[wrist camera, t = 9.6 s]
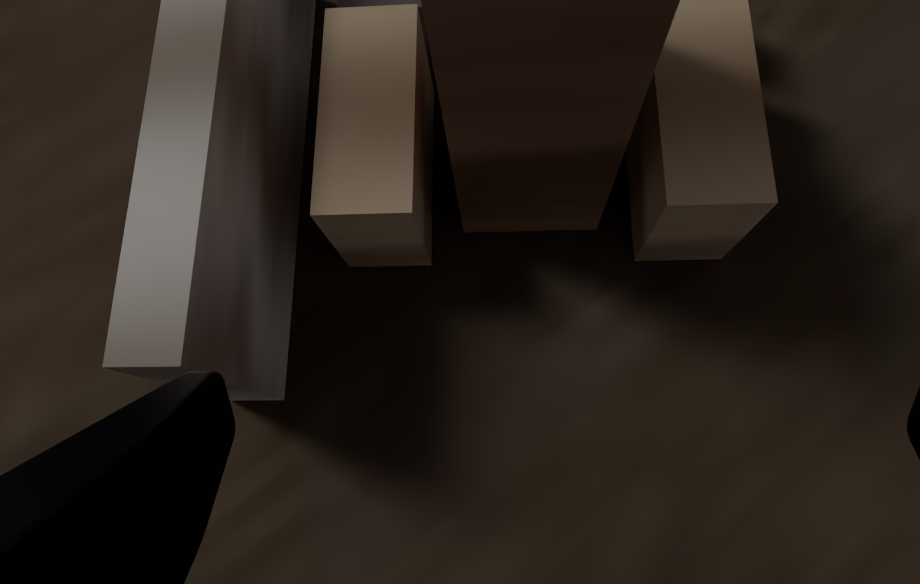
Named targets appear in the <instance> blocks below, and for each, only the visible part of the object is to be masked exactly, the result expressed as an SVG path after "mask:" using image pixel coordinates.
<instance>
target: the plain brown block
mask: <svg viewBox="0 0 920 584" xmlns="http://www.w3.org/2000/svg"><path fill="white" fill-rule="evenodd" d="M679 2H680V0H421V3H422V9H423V14H424V20H425V25H426V30H427V36H428V41H429V47H430V52H431V58H432V63H433V68H434V74H435V79H436V85H437V90H438V96H439V101H440V106H441V112H442V117H443V123H444V128H445V134H446V139H447V144H448V150H449V155H450V161H451V166H452V172H453V177H454V183H455V188H456V193H457V199H458V204H459V210H460V215H461V221H462V226H463V231H464V233H479V232H518V231H557V230H596V229H597V227H598V224H599V222H600V219H601V216H602V213H603V211H604V208H605V205H606V202H607V200H608V197H609V194H610V191H611V189H612V186H613V183H614V181H615V178H616V175H617V172H618V170H619V167H620V164H621V161H622V159H623V156H624V153H625V150H626V148H627V145H628V142H629V139H630V137H631V134H632V131H633V128H634V126H635V123H636V120H637V117H638V115H639V112H640V109H641V106H642V104H643V101H644V98H645V95H646V93H647V90H648V87H649V85H650V82H651V79H652V76H653V74H654V71H655V68H656V65H657V63H658V60H659V57H660V54H661V52H662V49H663V46H664V43H665V41H666V38H667V35H668V32H669V30H670V27H671V24H672V21H673V19H674V16H675V13H676V10H677V8H678V5H679Z"/></svg>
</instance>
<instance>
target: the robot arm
mask: <svg viewBox="0 0 920 584" xmlns="http://www.w3.org/2000/svg"><path fill="white" fill-rule="evenodd" d="M907 432H908V436H909V439H910V441H911V443H912V445H913V447H914V450H915V452H916V454H917V456H918V458H919V460H920V387H919V390H918V392H917V395H916V398H915V400H914V403H913V406H912V409H911V411H910V414H909V417H908V421H907ZM234 435H235V419H234V415H233V411H232V407H231V404H230V400H229V396H228V392H227V388H226V385H225V381H224V379H223V377H222V375H221V374H220V373H218V372H217V371H189V372H186V373H184V374H182V375H180V376H178V377H177V378H175V379H173V380H171V381H170V382H168V383H166V384H164V385H162V386H161V387H159V388H157V389H155V390H153V391H152V392H150V393H148V394H146V395H144V396H143V397H141V398H139V399H137V400H135V401H134V402H132V403H130V404H128V405H126V406H125V407H123V408H121V409H119V410H117V411H116V412H114V413H112V414H110V415H109V416H107V417H105V418H103V419H101V420H100V421H98V422H96V423H94V424H92V425H91V426H89V427H87V428H85V429H83V430H82V431H80V432H78V433H76V434H74V435H73V436H71V437H69V438H67V439H65V440H64V441H62V442H60V443H58V444H57V445H55V446H53V447H51V448H49V449H48V450H46V451H44V452H42V453H40V454H39V455H37V456H35V457H33V458H31V459H30V460H28V461H26V462H24V463H22V464H21V465H19V466H17V467H15V468H13V469H12V470H10V471H8V472H6V473H5V474H3V475H1V476H0V584H184V582H185V580H186V577H187V575H188V573H189V570H190V568H191V566H192V564H193V561H194V559H195V556H196V554H197V551H198V549H199V547H200V544H201V542H202V539H203V536H204V533H205V530H206V527H207V524H208V521H209V518H210V514H211V511H212V508H213V505H214V501H215V498H216V495H217V492H218V488H219V485H220V482H221V479H222V475H223V472H224V469H225V466H226V462H227V459H228V456H229V452H230V449H231V446H232V443H233V439H234Z"/></svg>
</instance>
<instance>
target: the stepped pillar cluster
mask: <svg viewBox="0 0 920 584" xmlns="http://www.w3.org/2000/svg"><path fill="white" fill-rule="evenodd" d="M315 6H316V0H161V5H160V12H159V18H158V24H157V30H156V37H155V43H154V49H153V55H152V61H151V68H150V74H149V80H148V86H147V93H146V99H145V105H144V111H143V118H142V124H141V130H140V136H139V143H138V149H137V155H136V161H135V167H134V174H133V180H132V186H131V192H130V199H129V205H128V211H127V217H126V224H125V230H124V236H123V242H122V249H121V255H120V261H119V267H118V273H117V280H116V286H115V292H114V298H113V305H112V311H111V317H110V323H109V330H108V336H107V342H106V348H105V355H104V361H103V368H107V369H111V370H115V371H119V372H123V373H127V374H130V375H134V376H138V377H142V378H146V379H150V380H153V381H157V382H161V383H165V384H166V383H168V382H170V381H171V380H173V379H175V378H177V377H178V376H180V375H182V374H184V373H186V372H189V371H217V372H218V373H220V374H221V375H222V377H223V379H224V381H225V385H226V388H227V392H228V396H229V400H230V401H233V400H284V399H285V386H286V374H287V361H288V348H289V336H290V323H291V310H292V298H293V285H294V272H295V260H296V247H297V234H298V221H299V209H300V196H301V183H302V171H303V158H304V145H305V133H306V120H307V107H308V94H309V82H310V69H311V56H312V44H313V31H314V18H315ZM431 72H434V68H433V63H432V58H431V52H430V47H429V41H428V36H427V30H426V25H425V20H424V14H423V9H422V3H421V0H337V8H325V16H324V30H323V44H322V57H321V71H320V84H319V98H318V112H317V125H316V139H315V152H314V166H313V179H312V193H311V207H310V216H311V217H312V219H313V220H314V221H315V223H316V224H317V225H318V227H319V228H320V229H321V230H322V232H323V233H324V234H325V236H326V237H327V238H328V240H329V241H330V242H331V243H332V245H333V246H334V247H335V249H336V250H337V251H338V253H339V254H340V255H341V256H342V258H343V259H344V260H345V262H346V263H347V264H348V266H349V267H375V266H422V265H431V261H432V197H433V133H434V88H433V83H432V77H431ZM626 163H627V176H628V188H629V201H630V214H631V227H632V239H633V252H634V261H660V260H708V259H722V258H723V257H724V256H725V255H726V254H727V253H728V252H729V251H730V250H731V249H732V248H733V247H734V246H735V245H736V244H737V243H738V242H739V241H740V240H741V239H742V238H743V237H744V236H745V235H746V234H747V233H748V232H749V231H750V230H751V229H752V228H753V227H754V226H755V225H756V224H757V223H758V222H759V221H760V220H761V219H762V218H763V217H764V216H765V215H766V214H767V213H768V212H769V211H770V210H771V209H772V208H773V207H774V206H775V205H776V204H777V203H778V199H777V192H776V185H775V178H774V172H773V165H772V158H771V152H770V145H769V138H768V132H767V125H766V118H765V111H764V105H763V98H762V91H761V85H760V78H759V71H758V65H757V58H756V51H755V44H754V38H753V31H752V24H751V18H750V11H749V4H748V0H680V2H679V5H678V8H677V10H676V13H675V16H674V19H673V21H672V24H671V27H670V30H669V32H668V35H667V38H666V41H665V43H664V46H663V49H662V52H661V54H660V57H659V60H658V63H657V65H656V68H655V71H654V74H653V76H652V79H651V82H650V85H649V87H648V90H647V93H646V95H645V98H644V101H643V104H642V106H641V109H640V112H639V115H638V117H637V120H636V123H635V126H634V128H633V131H632V134H631V137H630V139H629V142H628V145H627V148H626Z"/></svg>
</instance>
